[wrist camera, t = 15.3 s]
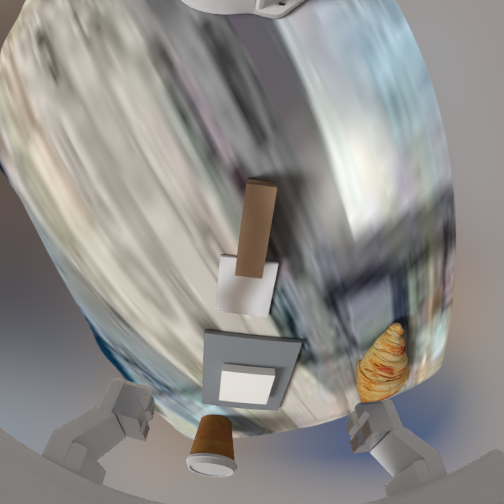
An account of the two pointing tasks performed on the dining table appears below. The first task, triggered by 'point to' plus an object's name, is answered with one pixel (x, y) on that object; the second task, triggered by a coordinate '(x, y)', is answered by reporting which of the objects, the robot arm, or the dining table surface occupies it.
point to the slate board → (247, 363)
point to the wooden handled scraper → (250, 257)
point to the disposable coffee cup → (213, 448)
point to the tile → (246, 383)
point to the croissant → (383, 366)
